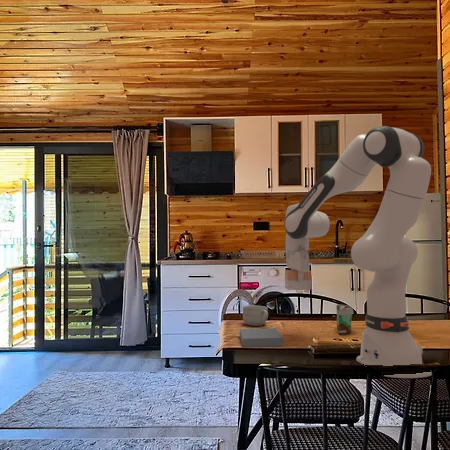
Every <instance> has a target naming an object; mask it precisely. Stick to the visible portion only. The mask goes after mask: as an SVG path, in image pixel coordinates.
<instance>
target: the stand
mask: <svg viewBox="0 0 450 450" xmlns="http://www.w3.org/2000/svg"><path fill="white" fill-rule="evenodd" d="M239 339H240V343H241V345H242V348H262V347H263V348H265V347H267V348H269V347H272V348H273V347H275V348H276V347H283V346H284V341H283V336H282V335H281V334H280V332H279V331H278V330H277V328H274V327H271V328H239Z"/></svg>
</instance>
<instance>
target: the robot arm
mask: <svg viewBox="0 0 450 450" xmlns="http://www.w3.org/2000/svg"><path fill="white" fill-rule="evenodd" d="M424 154H425V145H424V141H423V140H422V139H421V137H419V136H418V135H416V134H415V133H412V132H409V131H406V130H405V129H402V128H399V127H393V126H392V127H391V126H388V125H382V126H381V125H380V126H377V127H374V128H371V129H370V130H369V131H368V132H367V133H364V134H363V133H362V134H359V135H357V136H356V137H355V138H354V139H352V141H351V142H350V143H349V144H348V145H347V146H346V148H345V149H344V151H343V152H342V153H341V155H339V157H338V159H337V161H336V162H335V163H334V164H333V166H332V167H331V168H330V169H329V170H328V171H327V172H326V173H325V174H324V175H323V176H321V177H320V178H319V179H318V180H317V181H316V182H315V184H313V186H312V187H311V188H310V190H309V191H308V192H307V194H306V195H305V196H304V197H303V198H302V199H301V201H299V202H300V203H293V204H290V205H289V206H288V207H287V208H286V213H285V217H284V220H283V221H284V222H283V226H284V231H285V232H286V235H285V243H284V244H283V245H284V246H283V247H284V249H283V250H285V262H286V263H285V264H286V267H287V268H289V269H290V270H297V272H298V278H297V282H298V283H302V282H303V276H304V272H309V270H310V268H311V267H310V256H309V252H308V251H309V250H310V238H321V237H325V236H326V235H327V234H328V233H329V232H330V228H331V220H330V218H329V215H328V214H326V213H324V212H322V211H319V208H320V207H321V206H322V205H323V204H324V202H325V201H327V200H328V199H330V198H331V197H335V196H337V195H340V194H343V193H348V192H349V193H350V192H351V191H355V190H356V189H357V188H359V186H361V185H362V184H363V182H365V180H366V178H368V176H369V175H370V173H371V172H372V170H373V169H374V167H375V166H376V165H377V164H378V165H379V166H380V167H382V168H383V169H384V168H385V169H386V168H388V169H389V175H390V176H389V179H388V182H387V185H386V189H385V191H384V195H383V197H382V200H381V204H380V206H379V209H378V211H377V214H376V215H375V217H374V219H373V221H372V222H371V224H370V225H369V226H368V228H367V230H366V231H365V232H364V234H363V235H362V236H361V237H360V238H359V239H357V240H356V241H355V242H354V243H353V245H352V246H351V250H350V256H351V260H352V263H353V264H354V266H356V267H357V268H359V269H361V270H363V271H368V272H372V273H373V272H375V273H374V275H373V279H372V281H371V283H370V284H369V285H368V287H367V289H366V313H365V319H364V320H365V325H366V327H365V329H364V331H363V332H362V334H361V337H360V338H361V340H360V355H358V356H357V357H356V359H355V360H356V362H358V363H360V364H361V365H363V364H364V365H363V366H365V365H383V366H393V365H410V364H422V363H423V357H422V356H423V353H424V350H423V347H422V346H421V345H420V346H419V345H418V344H417V342H416V340H415V339H414V338H413V335H412V334H411V332H410V331H409V329H410V325H409V324H410V323H409V321H408V318H407V315H406V289H407V283H408V279H409V275H410V272H411V268H412V266H413V264H414V263H415V262H416V260H417V257H418V254H419V252H418V247H417V245H416V244H415V241H413V240H412V239H411V238H408V237H406V236H405V235H406V234H407V233H408V232H409V230H411V228H413V227H414V226H415V225H416V224H417V221H418V220H419V216H420V213H421V210H422V208H423V204H424V201H425V198H426V196H427V193H428V189H429V185H430V181H431V175H432V166H431V164H430V163H429V161H427V160H426V159H424V158H423V156H424ZM430 376H433V373H432V371H431V372H423V373H416V374H394V375H384V376H383V377H388V378H397V379H420V378H422V379H423V378H428V377H430Z"/></svg>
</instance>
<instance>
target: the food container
mask: <svg viewBox="0 0 450 450" xmlns="http://www.w3.org/2000/svg"><path fill="white" fill-rule="evenodd" d="M353 314H354V308H353V307H352V306H351V305H347V304H336V330H337V333H338V335H339V336H341V335H343V336H344V335H349V334H352V321H353V320H352V318H353V317H352V316H353Z"/></svg>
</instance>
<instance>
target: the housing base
mask: <svg viewBox="0 0 450 450" xmlns="http://www.w3.org/2000/svg"><path fill="white" fill-rule="evenodd" d="M284 289H285V290H287V291H294V290H295V291H297V290H301V291H304V290H307V291H308V290H312V279H311V280H303V282H302V283H298V282H297V280H293V281H288V280H286V279H285V278H284Z"/></svg>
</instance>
